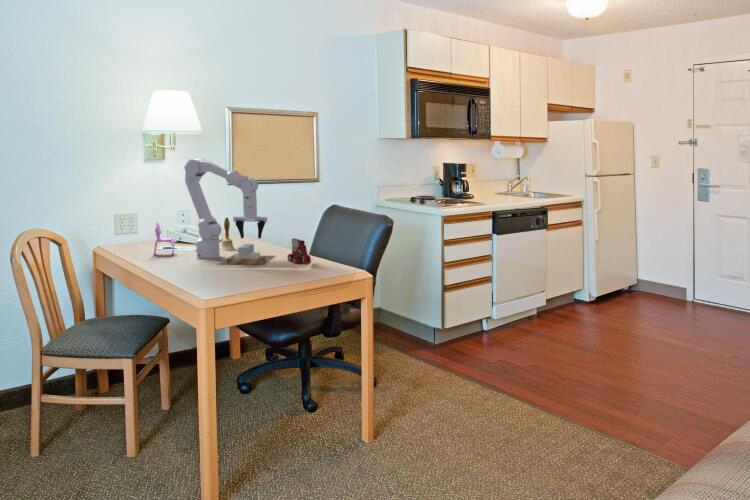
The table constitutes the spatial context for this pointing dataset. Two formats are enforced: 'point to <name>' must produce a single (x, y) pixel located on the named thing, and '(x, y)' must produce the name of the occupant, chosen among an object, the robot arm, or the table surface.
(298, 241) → the toy fire truck
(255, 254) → the tall white pillar block
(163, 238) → the toy chair
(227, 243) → the hand bell
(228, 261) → the jig
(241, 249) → the pale blue rectangular block
